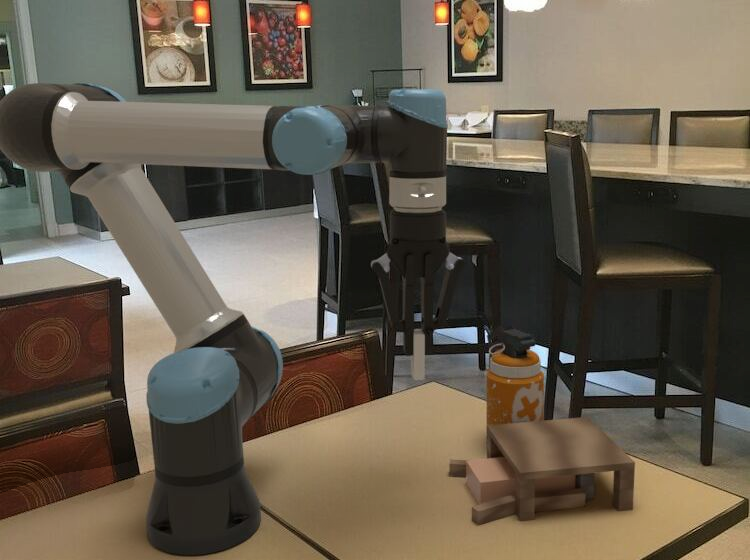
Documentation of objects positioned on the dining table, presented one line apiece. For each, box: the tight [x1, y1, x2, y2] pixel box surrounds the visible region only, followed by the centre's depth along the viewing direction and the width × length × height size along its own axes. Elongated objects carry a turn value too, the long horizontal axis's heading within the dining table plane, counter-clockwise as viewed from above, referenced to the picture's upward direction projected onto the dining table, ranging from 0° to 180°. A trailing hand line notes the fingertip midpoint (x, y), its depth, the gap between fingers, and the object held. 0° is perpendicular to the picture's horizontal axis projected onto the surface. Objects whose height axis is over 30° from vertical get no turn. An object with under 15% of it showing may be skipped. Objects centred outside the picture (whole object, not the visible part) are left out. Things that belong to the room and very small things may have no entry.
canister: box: [485, 324, 545, 445], centre depth 127 cm, size 9×11×20 cm
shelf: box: [448, 416, 636, 526], centre depth 114 cm, size 22×16×7 cm
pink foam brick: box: [465, 457, 576, 505], centre depth 114 cm, size 14×7×4 cm, turn 100°
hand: (417, 376), depth 110 cm, fingers closed
